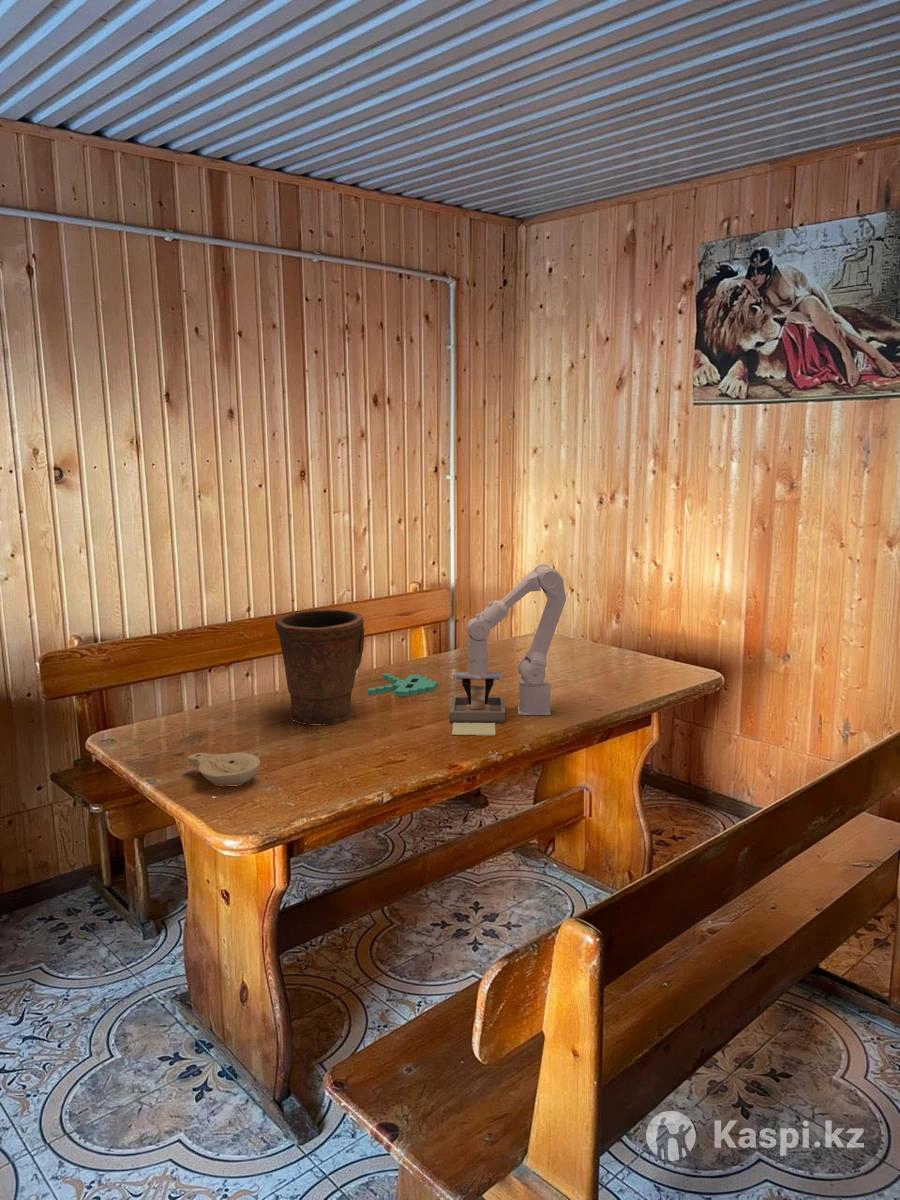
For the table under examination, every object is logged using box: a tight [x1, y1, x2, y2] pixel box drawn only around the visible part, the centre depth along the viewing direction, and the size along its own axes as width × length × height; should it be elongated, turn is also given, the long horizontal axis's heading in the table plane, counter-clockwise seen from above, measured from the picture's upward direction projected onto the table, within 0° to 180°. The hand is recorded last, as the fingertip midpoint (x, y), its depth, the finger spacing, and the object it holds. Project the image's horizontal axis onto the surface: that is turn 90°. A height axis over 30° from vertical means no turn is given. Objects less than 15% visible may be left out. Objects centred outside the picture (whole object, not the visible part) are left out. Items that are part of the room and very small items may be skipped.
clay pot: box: [274, 609, 365, 726], centre depth 263 cm, size 25×29×30 cm
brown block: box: [471, 685, 485, 709], centre depth 263 cm, size 4×4×6 cm
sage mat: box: [451, 723, 496, 737], centre depth 250 cm, size 12×10×1 cm
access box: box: [449, 695, 506, 724], centre depth 264 cm, size 16×16×3 cm
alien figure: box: [367, 672, 438, 698], centre depth 292 cm, size 20×2×20 cm
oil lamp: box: [187, 752, 261, 786], centre depth 216 cm, size 21×14×5 cm
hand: (477, 703), depth 263 cm, fingers closed on brown block, 4 cm apart
